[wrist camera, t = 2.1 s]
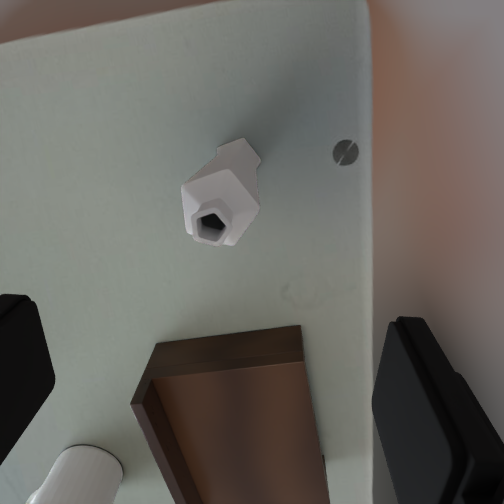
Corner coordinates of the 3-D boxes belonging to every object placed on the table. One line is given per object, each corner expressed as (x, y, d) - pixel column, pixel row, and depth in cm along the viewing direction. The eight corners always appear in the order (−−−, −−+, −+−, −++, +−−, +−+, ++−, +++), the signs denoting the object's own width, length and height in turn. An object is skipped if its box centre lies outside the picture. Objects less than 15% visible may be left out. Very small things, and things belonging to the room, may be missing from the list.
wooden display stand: (300, 324, 40) (306, 385, 32) (325, 462, 49) (334, 535, 41) (155, 343, 42) (129, 404, 34) (205, 471, 51) (193, 542, 44)
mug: (113, 442, 50) (80, 519, 41) (131, 486, 53) (104, 564, 45) (28, 446, 51) (-21, 520, 43) (52, 488, 55) (11, 564, 46)
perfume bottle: (228, 121, 31) (192, 163, 18) (271, 152, 32) (269, 214, 19) (200, 167, 33) (148, 236, 20) (242, 195, 34) (220, 279, 20)
